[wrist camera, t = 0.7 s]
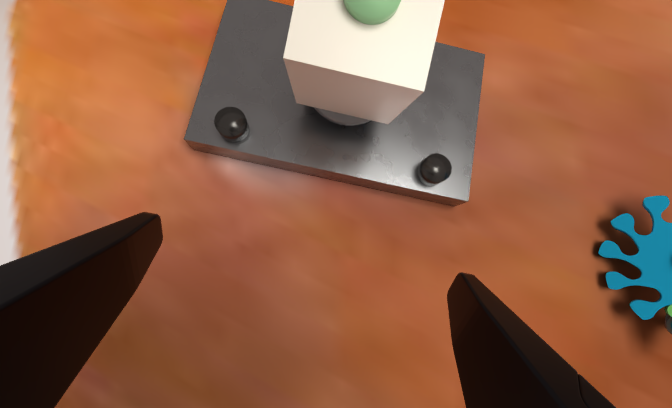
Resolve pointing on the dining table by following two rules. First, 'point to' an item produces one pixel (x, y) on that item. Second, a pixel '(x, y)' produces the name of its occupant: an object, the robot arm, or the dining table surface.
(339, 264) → the dining table surface
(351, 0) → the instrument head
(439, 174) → the base
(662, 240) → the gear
